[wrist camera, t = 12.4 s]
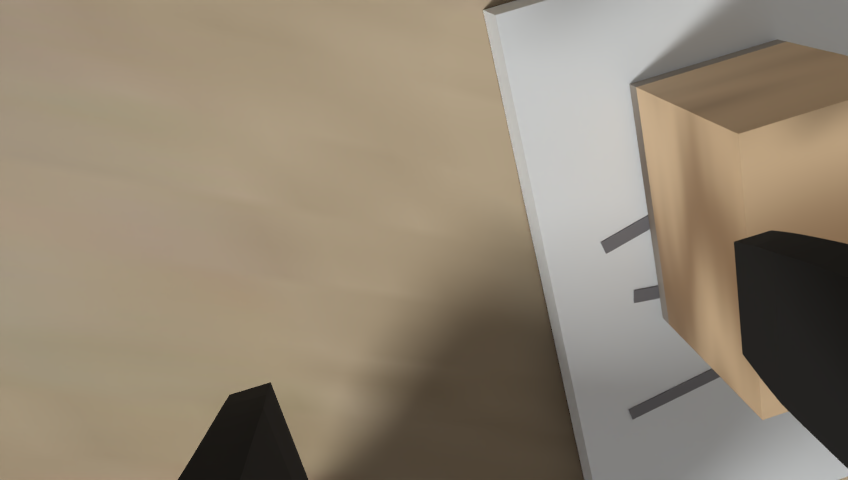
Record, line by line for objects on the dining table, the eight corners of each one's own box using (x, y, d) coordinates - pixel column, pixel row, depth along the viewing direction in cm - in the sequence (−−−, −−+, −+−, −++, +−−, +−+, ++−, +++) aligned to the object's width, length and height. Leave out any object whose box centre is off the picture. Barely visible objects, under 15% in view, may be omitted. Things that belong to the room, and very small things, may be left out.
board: (861, 441, 27) (886, 463, 26) (595, 531, 27) (609, 558, 25) (852, -99, 20) (886, -100, 19) (483, 9, 19) (496, 15, 18)
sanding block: (791, 276, 22) (922, 366, 18) (662, 318, 22) (762, 420, 18) (777, 39, 19) (929, 74, 15) (629, 84, 19) (738, 133, 15)
